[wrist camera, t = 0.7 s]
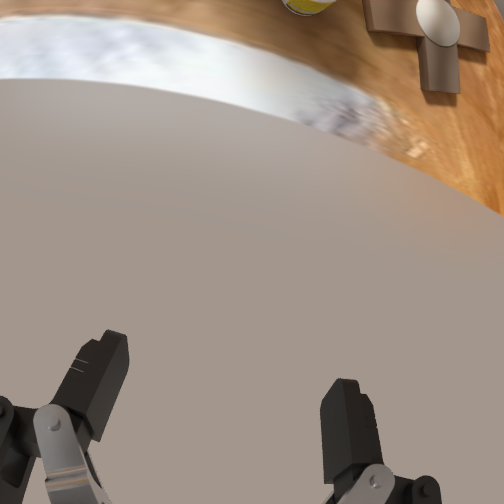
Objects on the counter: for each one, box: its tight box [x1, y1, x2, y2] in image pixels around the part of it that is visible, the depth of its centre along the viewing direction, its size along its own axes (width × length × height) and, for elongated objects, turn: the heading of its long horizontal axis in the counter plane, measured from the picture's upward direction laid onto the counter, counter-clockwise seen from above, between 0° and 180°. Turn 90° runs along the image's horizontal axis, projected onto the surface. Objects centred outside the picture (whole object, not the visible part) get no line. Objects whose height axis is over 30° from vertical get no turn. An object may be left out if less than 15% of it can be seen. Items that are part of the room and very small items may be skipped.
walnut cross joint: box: [362, 0, 490, 94], centre depth 23 cm, size 18×18×2 cm
